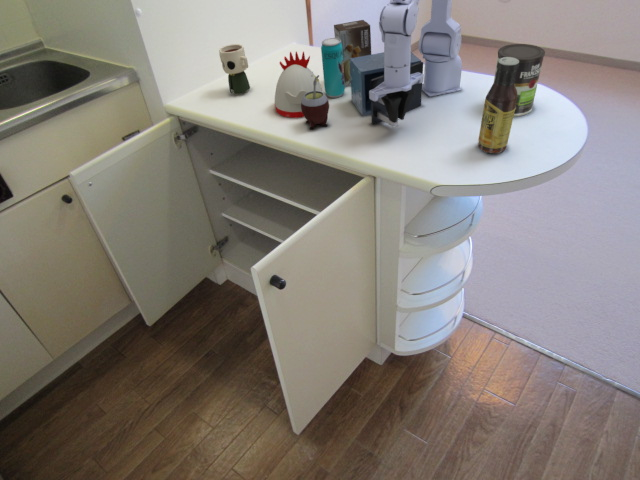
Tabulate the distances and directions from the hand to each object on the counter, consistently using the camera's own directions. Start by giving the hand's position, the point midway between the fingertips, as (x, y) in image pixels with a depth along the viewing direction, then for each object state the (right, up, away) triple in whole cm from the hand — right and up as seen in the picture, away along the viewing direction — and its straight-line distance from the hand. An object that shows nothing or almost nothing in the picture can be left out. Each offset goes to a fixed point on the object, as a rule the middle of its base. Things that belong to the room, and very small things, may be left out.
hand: (396, 119), depth 112 cm
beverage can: (-14, +13, +22) cm, 29 cm away
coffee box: (-8, +19, +28) cm, 35 cm away
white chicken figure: (-24, +8, +19) cm, 31 cm away
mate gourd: (-19, +1, +9) cm, 21 cm away
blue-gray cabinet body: (-1, +9, +15) cm, 17 cm away
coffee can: (+30, +5, +7) cm, 31 cm away
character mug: (-43, +16, +30) cm, 55 cm away
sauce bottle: (+20, -8, -7) cm, 23 cm away
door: (+3, +2, +7) cm, 8 cm away
